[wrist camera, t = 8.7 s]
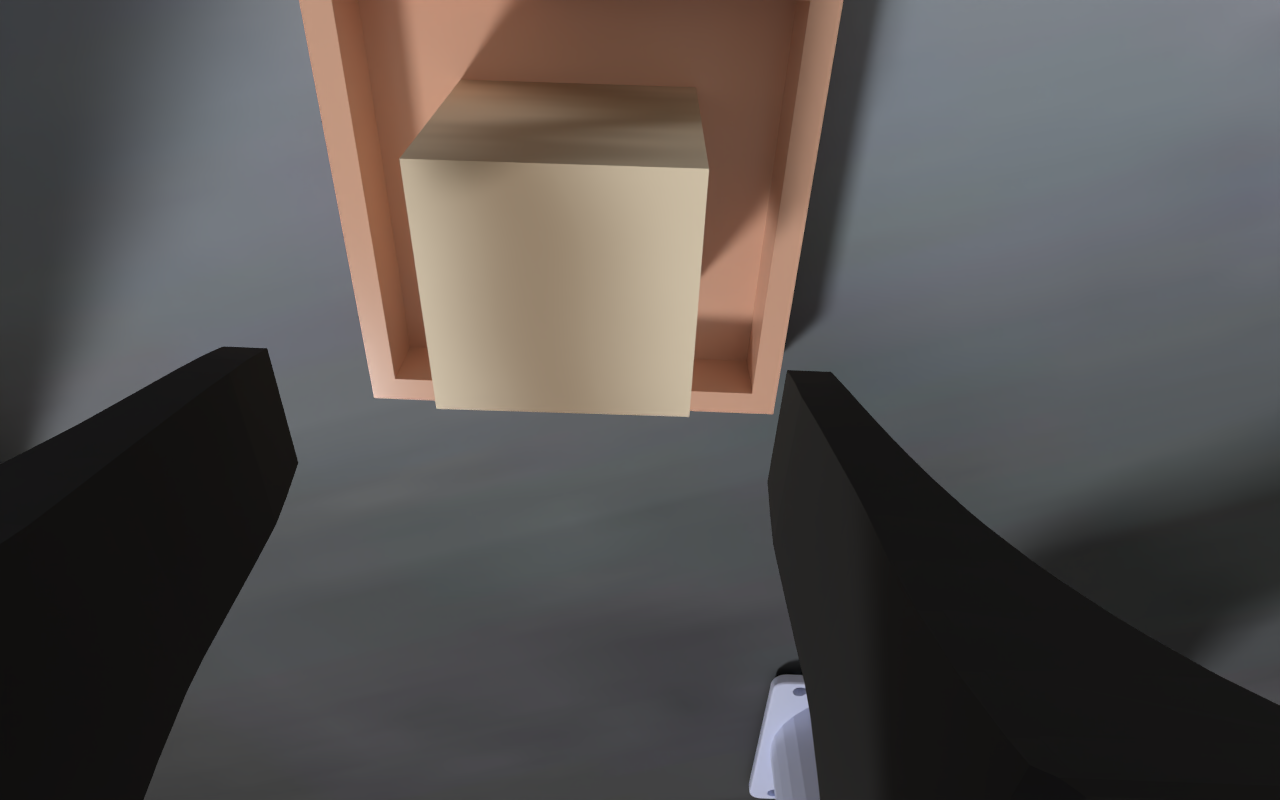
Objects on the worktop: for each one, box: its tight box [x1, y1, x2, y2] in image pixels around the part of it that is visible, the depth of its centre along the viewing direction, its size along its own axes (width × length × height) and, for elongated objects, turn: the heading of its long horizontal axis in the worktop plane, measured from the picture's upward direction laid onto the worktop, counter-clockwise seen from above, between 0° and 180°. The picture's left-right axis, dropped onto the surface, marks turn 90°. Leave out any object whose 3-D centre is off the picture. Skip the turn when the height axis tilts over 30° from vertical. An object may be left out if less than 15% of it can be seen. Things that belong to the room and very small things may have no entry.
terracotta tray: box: [299, 0, 843, 414], centre depth 18 cm, size 10×10×2 cm
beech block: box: [399, 80, 709, 417], centre depth 16 cm, size 5×5×5 cm
